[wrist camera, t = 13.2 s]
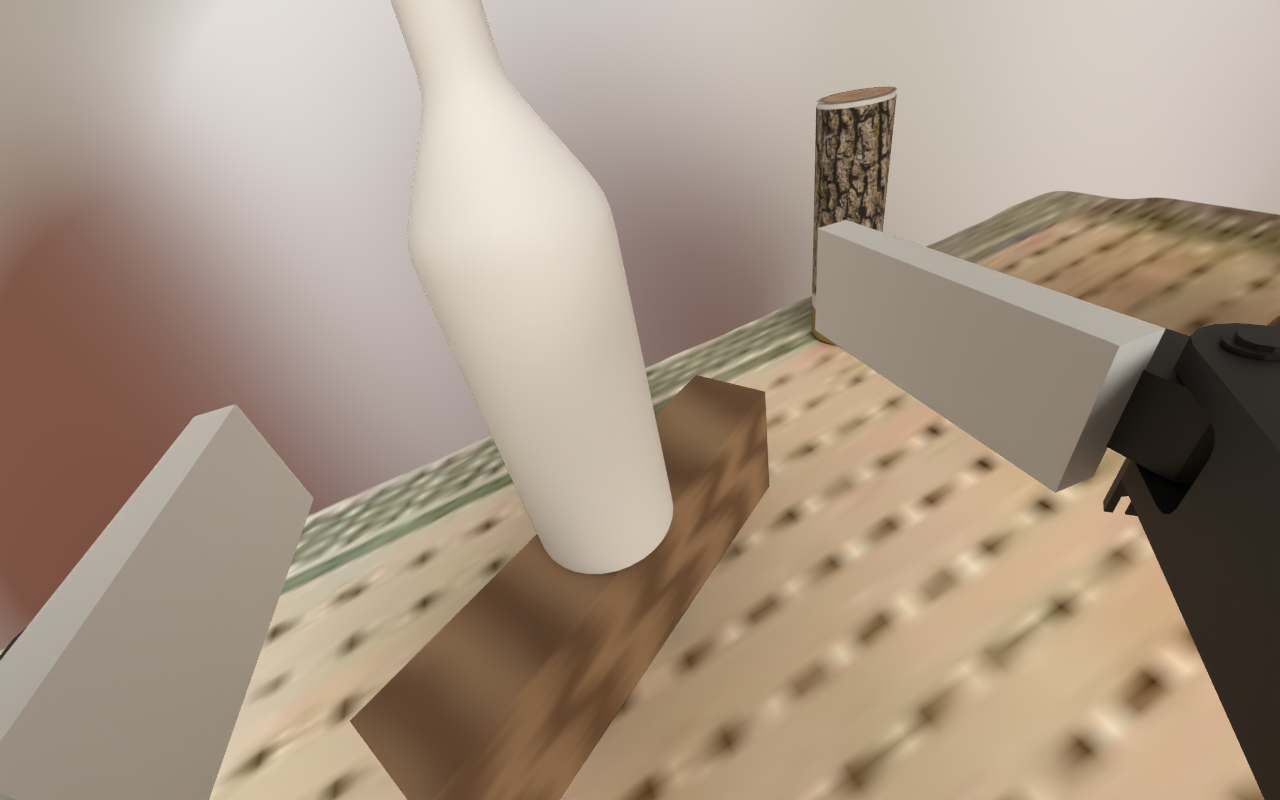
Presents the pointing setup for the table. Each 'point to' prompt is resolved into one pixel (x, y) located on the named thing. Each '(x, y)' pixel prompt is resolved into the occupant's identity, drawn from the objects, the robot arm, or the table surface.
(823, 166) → the paper tube
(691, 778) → the table surface
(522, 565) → the wooden block
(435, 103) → the bottle
